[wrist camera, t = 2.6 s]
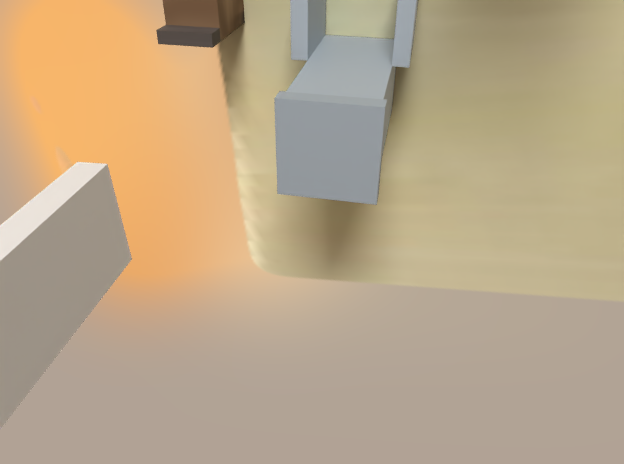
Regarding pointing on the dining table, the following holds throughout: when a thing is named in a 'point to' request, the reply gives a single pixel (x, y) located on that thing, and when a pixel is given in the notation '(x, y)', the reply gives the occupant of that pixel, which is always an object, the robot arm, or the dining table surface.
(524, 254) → the dining table surface
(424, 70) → the dining table surface
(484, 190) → the dining table surface
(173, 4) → the rail
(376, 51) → the grey notched block
